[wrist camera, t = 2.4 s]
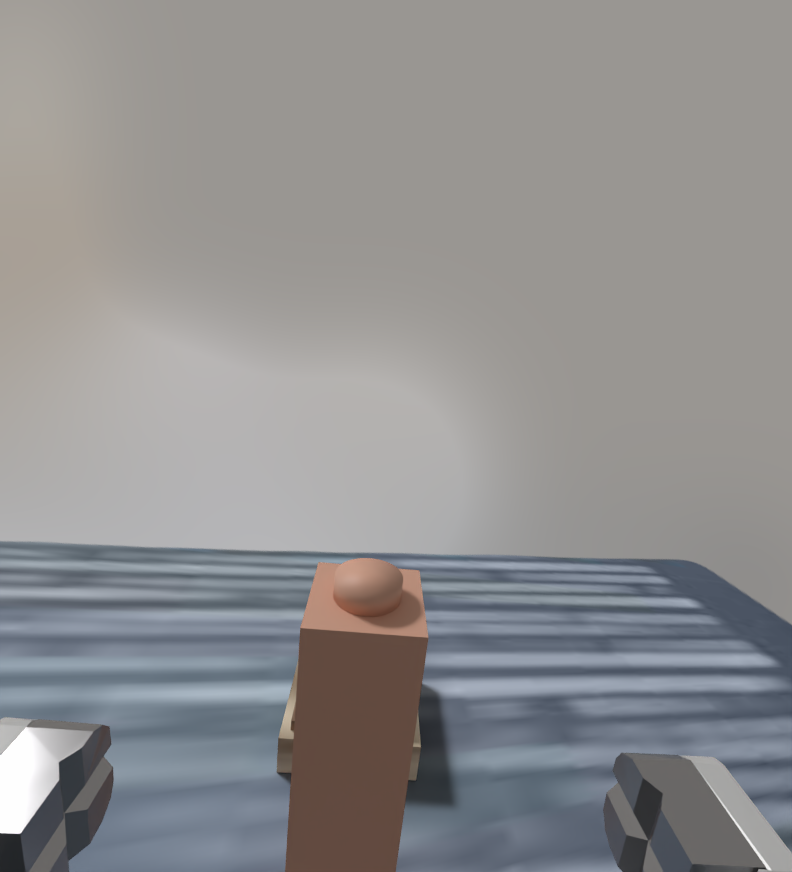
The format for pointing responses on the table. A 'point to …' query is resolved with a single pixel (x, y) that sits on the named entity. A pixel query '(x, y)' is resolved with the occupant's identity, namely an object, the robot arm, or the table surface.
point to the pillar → (355, 716)
